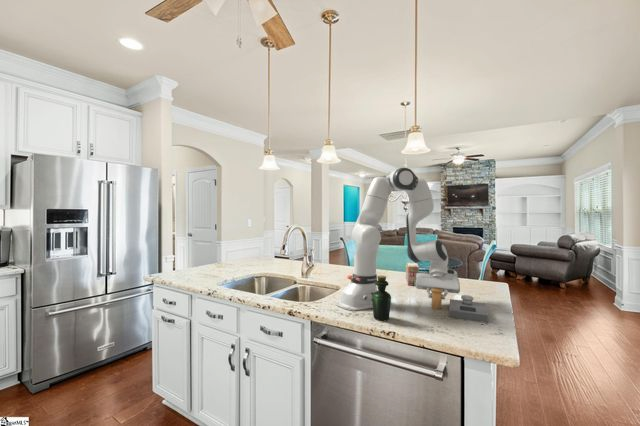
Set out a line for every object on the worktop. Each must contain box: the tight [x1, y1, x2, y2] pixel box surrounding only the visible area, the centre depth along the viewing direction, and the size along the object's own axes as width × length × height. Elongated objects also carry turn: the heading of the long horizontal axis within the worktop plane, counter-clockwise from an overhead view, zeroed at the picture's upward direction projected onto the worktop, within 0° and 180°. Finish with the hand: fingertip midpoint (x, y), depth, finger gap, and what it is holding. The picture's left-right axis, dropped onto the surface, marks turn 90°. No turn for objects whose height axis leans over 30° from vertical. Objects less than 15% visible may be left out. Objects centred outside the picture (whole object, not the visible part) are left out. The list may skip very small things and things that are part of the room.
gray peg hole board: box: [448, 294, 489, 323], centre depth 138 cm, size 18×15×6 cm
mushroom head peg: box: [430, 288, 444, 311], centre depth 145 cm, size 5×5×9 cm
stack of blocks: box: [405, 262, 420, 287], centre depth 196 cm, size 21×6×12 cm, turn 168°
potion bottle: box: [372, 275, 392, 322], centre depth 130 cm, size 8×8×18 cm
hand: (436, 298), depth 144 cm, fingers closed on mushroom head peg, 4 cm apart
